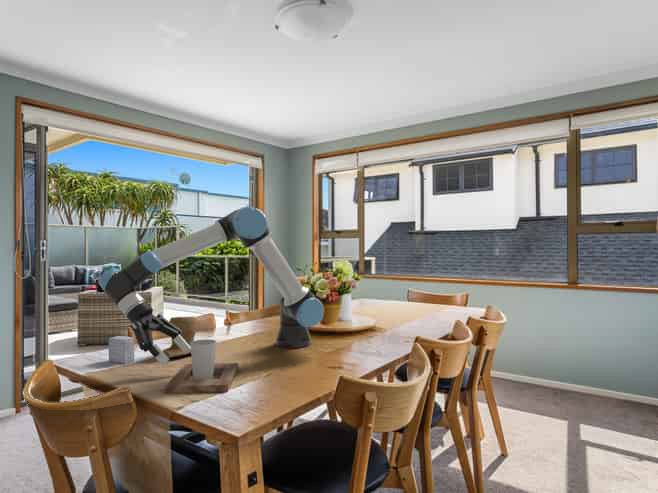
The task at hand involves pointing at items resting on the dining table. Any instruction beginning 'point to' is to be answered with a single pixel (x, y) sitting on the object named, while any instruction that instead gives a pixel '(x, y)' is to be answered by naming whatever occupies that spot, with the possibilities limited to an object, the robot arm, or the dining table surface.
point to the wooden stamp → (182, 335)
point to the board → (203, 380)
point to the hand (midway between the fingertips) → (177, 356)
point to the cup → (203, 358)
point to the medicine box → (121, 349)
